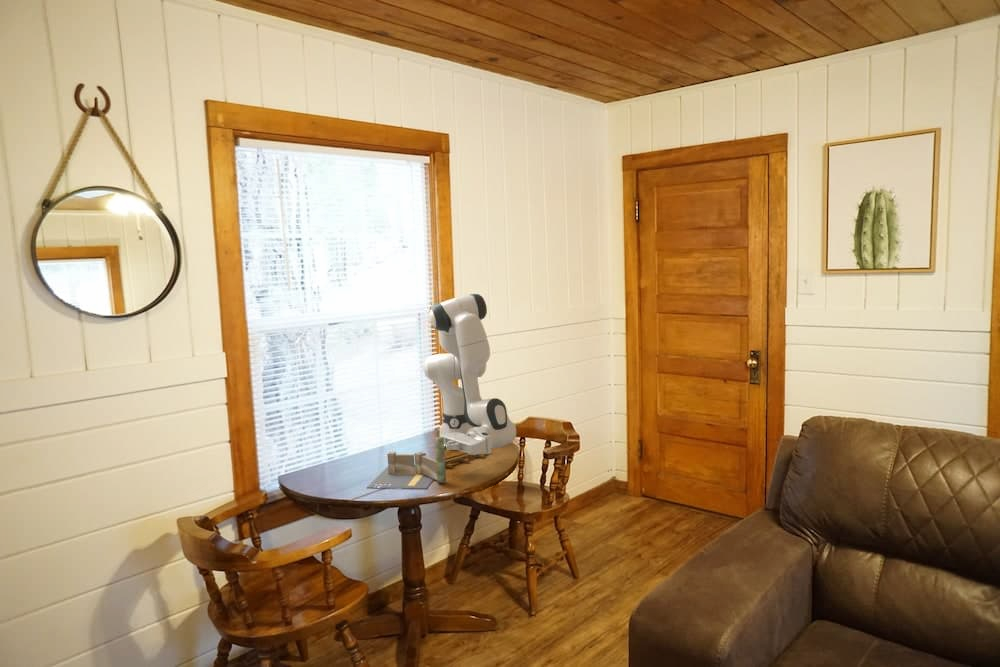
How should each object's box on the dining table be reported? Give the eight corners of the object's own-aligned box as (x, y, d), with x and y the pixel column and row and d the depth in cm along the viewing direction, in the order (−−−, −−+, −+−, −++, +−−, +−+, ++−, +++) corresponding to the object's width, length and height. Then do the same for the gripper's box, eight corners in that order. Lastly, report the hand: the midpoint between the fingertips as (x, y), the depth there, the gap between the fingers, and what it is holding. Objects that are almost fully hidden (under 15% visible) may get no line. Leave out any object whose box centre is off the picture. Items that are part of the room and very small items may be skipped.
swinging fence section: (422, 470, 244) (420, 429, 242) (447, 481, 230) (445, 438, 229) (415, 472, 242) (413, 431, 240) (440, 483, 228) (438, 439, 227)
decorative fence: (429, 463, 252) (446, 468, 245) (429, 458, 252) (446, 463, 245) (478, 450, 270) (495, 455, 263) (478, 445, 270) (495, 450, 263)
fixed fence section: (390, 471, 245) (389, 451, 244) (415, 472, 243) (414, 452, 242) (388, 473, 242) (387, 453, 241) (413, 474, 241) (412, 453, 240)
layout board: (389, 465, 254) (389, 464, 254) (443, 466, 251) (443, 464, 251) (366, 488, 228) (366, 487, 228) (426, 489, 225) (426, 487, 225)
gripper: (460, 426, 246) (428, 433, 238) (493, 436, 230) (460, 444, 222) (460, 443, 247) (429, 450, 238) (494, 454, 231) (461, 462, 222)
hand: (444, 447), depth 230 cm, fingers closed, pressing on swinging fence section
